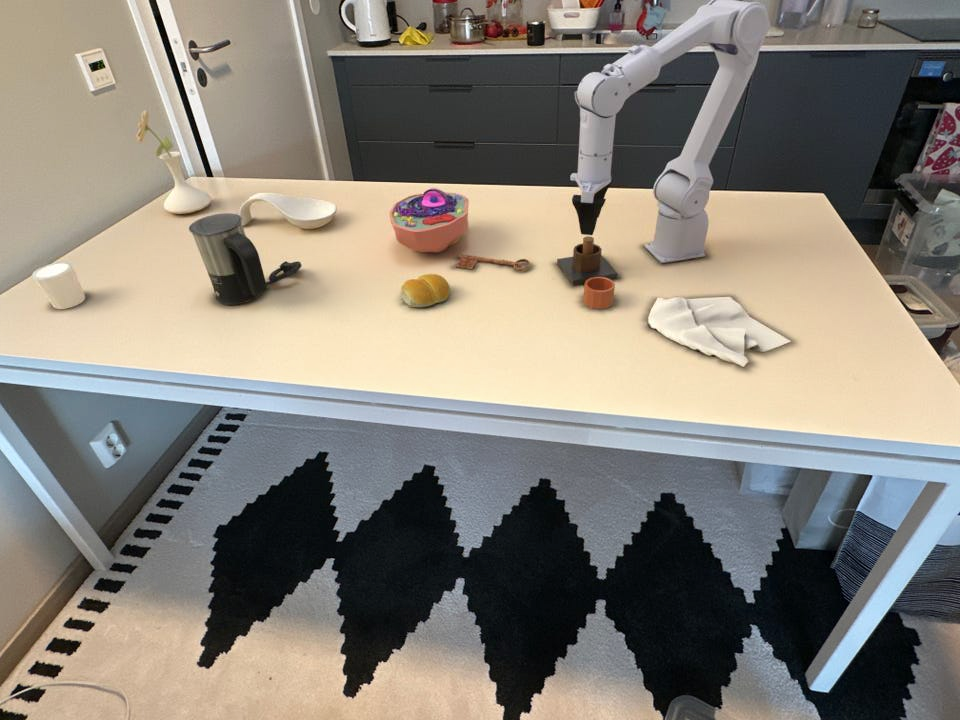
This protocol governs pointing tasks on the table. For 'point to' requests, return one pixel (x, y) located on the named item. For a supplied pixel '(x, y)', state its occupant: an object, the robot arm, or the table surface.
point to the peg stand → (581, 277)
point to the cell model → (430, 220)
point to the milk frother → (233, 259)
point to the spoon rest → (294, 209)
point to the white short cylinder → (59, 284)
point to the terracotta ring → (599, 292)
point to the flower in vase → (176, 177)
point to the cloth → (713, 327)
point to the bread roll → (425, 290)
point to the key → (472, 261)
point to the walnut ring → (586, 259)
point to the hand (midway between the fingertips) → (590, 225)
